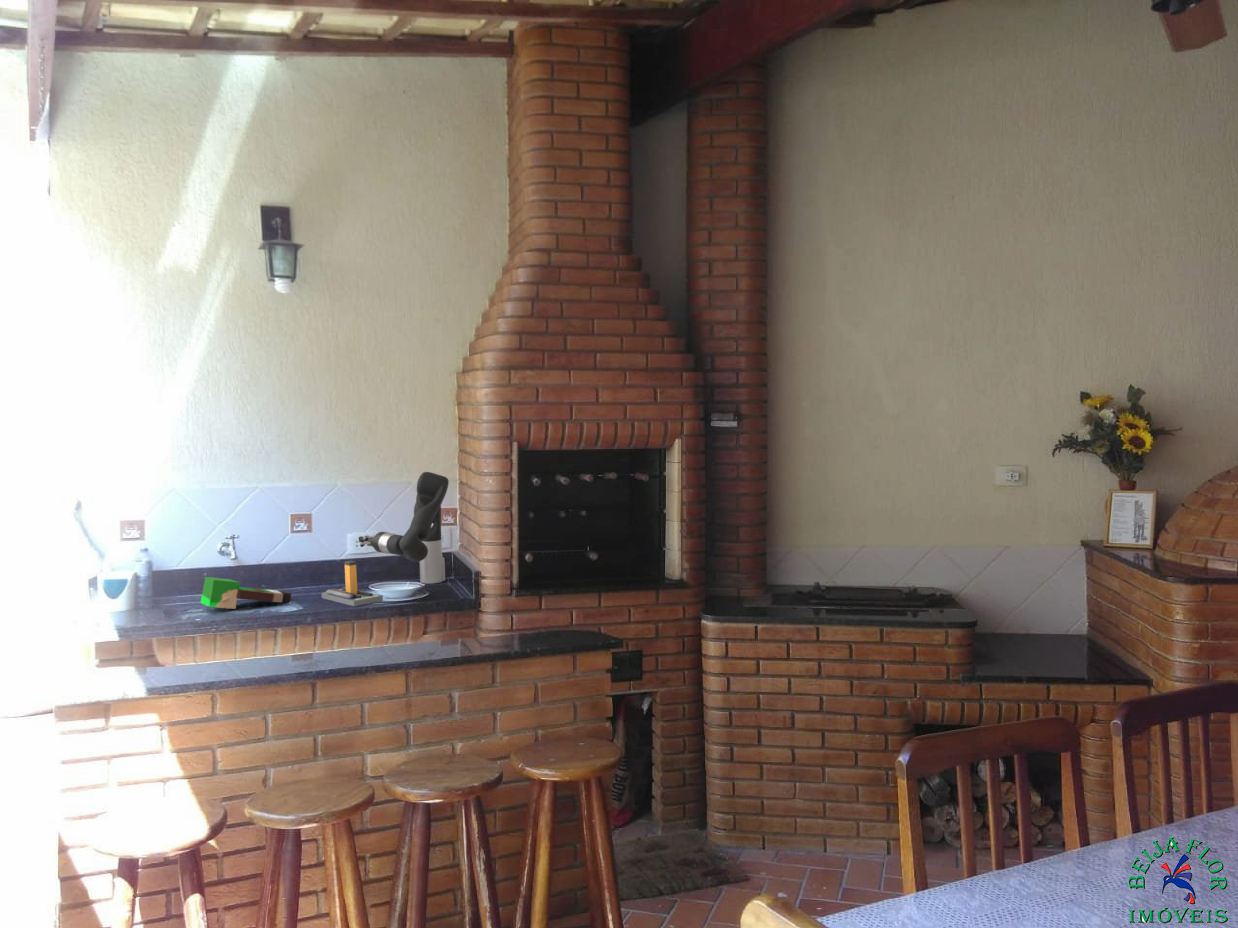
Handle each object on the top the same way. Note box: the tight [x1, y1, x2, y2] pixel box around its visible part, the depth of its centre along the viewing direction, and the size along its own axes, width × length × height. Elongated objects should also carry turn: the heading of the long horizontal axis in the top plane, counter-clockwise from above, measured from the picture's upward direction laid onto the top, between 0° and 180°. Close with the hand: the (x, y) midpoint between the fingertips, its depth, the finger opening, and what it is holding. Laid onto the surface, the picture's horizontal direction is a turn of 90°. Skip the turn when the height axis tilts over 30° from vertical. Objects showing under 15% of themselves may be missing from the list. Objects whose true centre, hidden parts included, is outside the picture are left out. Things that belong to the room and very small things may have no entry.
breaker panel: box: [321, 586, 384, 607], centre depth 402 cm, size 12×24×4 cm, turn 44°
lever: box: [344, 560, 358, 594], centre depth 402 cm, size 3×4×12 cm
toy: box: [200, 576, 292, 611], centre depth 395 cm, size 15×11×30 cm
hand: (362, 538), depth 393 cm, fingers closed
